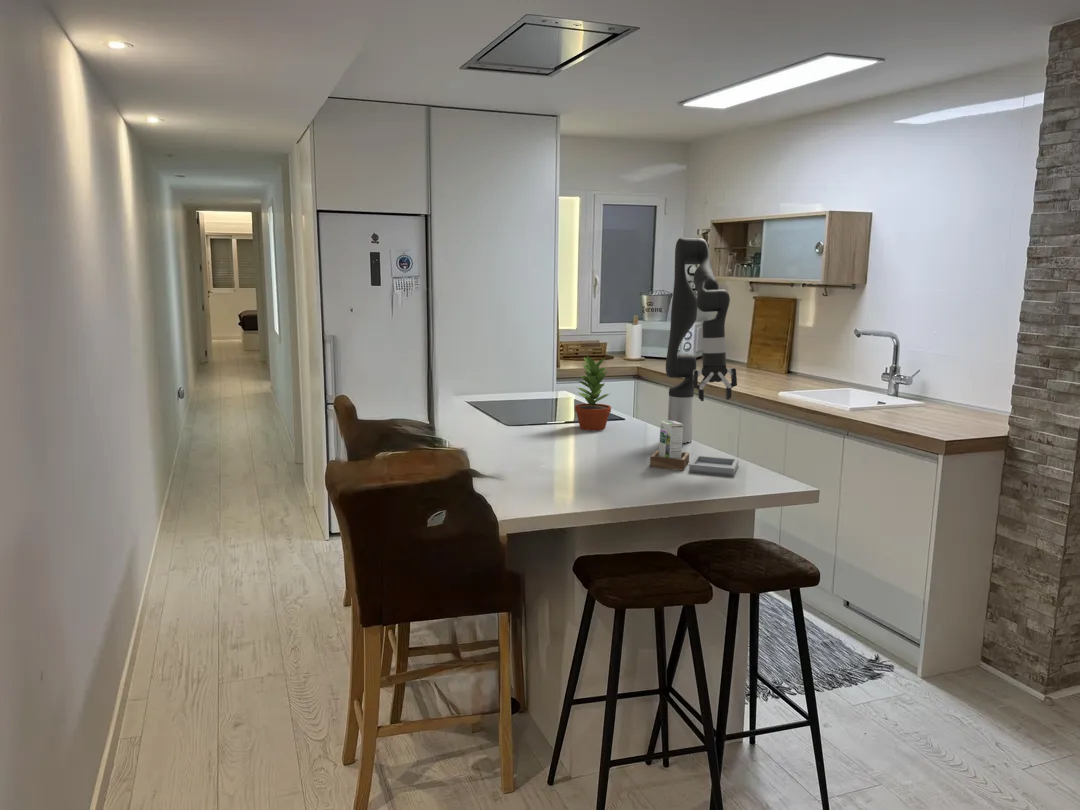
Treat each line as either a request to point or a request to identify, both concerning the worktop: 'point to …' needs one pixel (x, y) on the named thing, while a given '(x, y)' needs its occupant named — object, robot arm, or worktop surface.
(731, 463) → the slate tray
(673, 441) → the syrup box
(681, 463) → the walnut holder
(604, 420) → the potted plant
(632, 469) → the worktop surface
